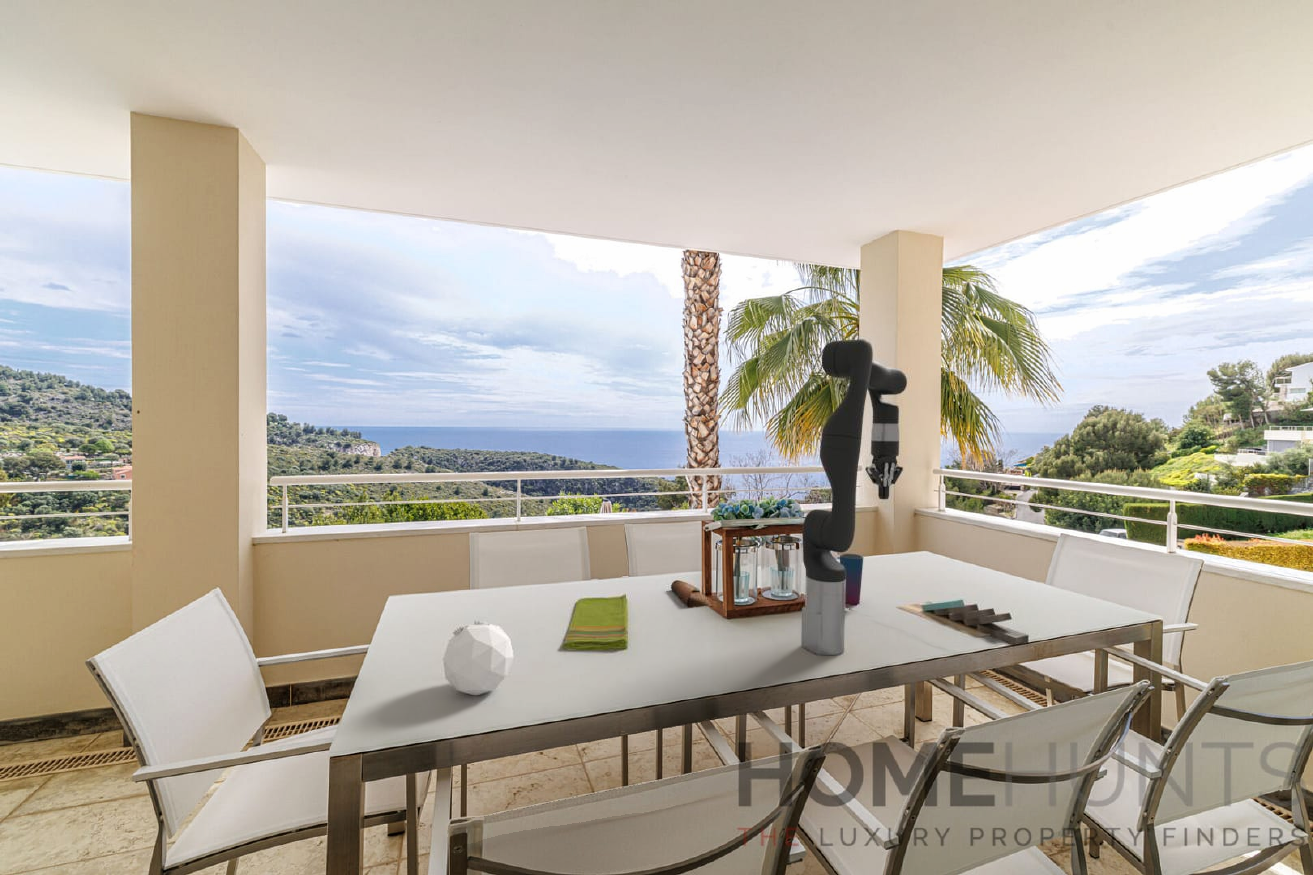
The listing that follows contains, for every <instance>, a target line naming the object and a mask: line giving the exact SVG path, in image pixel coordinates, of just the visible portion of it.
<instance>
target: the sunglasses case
mask: <svg viewBox="0 0 1313 875" xmlns="http://www.w3.org/2000/svg"><path fill="white" fill-rule="evenodd" d="M670 588H671V591H672V592H674V593H675V594H676V595H677V596H678V598H680V599H681V601H682V602H683V603H684V604H685V605H686V606H687V608H700V607H701V608H702V607H709V606H712V603H711V602H710V601H709V600H707V599H708V598H707V597H706V596H705V595H704V594H703V593H702V592H701V590H700V589H699V588H698V587H696V586H694V585H692V584H690V583H688V582H685V581H682V580H679V579H677V580H674V581H673V582H672V583H671V585H670ZM710 603H711V604H710Z"/></svg>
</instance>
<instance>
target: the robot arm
mask: <svg viewBox="0 0 1313 875" xmlns="http://www.w3.org/2000/svg"><path fill="white" fill-rule="evenodd" d="M873 355H874V350H873V346H872V343H871V342H870V341H869V339H863V338H862V339H860V338H859V339H841V340H839V339H838V340H832V341H829V342H828V343H827V344H825V346H824V348H823V350H822V353H821V366H822V369H823V371H824V373H825V374H826V375H827V376H828V377H831V378H838V379H842V378H843V379H847V380H850V382H849V384H848V388H847V391H846V393H845V395H844V398H843V399H842V400H841V402H840V404H839V405H838V406H837V407H836V409H835V410H834V411H833V412H832V414H831V415H830V416H829V418H828V419H827V421H826V422H825V424H824V426H823V428H822V431H821V436H820V437H821V438H820V446H819V458H820V461H821V465H822V468H823V470H824V472H825V475H826V477H827V480H828V481H829V482H828V483H829V485H830V488H831V493H832V494H831V495H832V497H831V498H832V503H831V511H830V510H825V509H812V510H811V511H809V512H808V513H807V514H806V516H805V517H804V521H803V523H802V558H803V559H802V560H803V565H804V569H805V600H804V601H805V603H804V604H805V605H804V606H803V607H802V608H801V637H800V638H801V641H800V642H801V643H800V646H801V647H803V648H805V649H806V650H809V651H810V652H811V653H814V654H815V655H816V656H817V655H818V656H821V655H825V656H826V655H827V656H835V655H836V656H837V655H841V654H843V653H844V652H845V636H846V635H845V631H846V630H845V629H846V624H845V623H846V607H845V606H846V604H845V591H846V569H845V567H844V566H843V565H842V564H841V563H840V561H838V560H837V559H836V558H835V557H834V556H833V555H832V552H833V553H834V552H835V553H840V554H843V553H846V552H847V551H848V550H849V549H850V548H851V547H852V544H853V542H854V538H855V532H856V496H857V495H856V494H857V480H858V479H857V478H858V470H859V469H858V468H859V462H860V461H859V460H860V454H861V447H862V439H863V426H864V423H863V422H864V413H865V405H866V400H867V393H869V394H868V395H869V398H870V402H871V407H872V424H871V425H872V426H871V432H870V433H871V436H870V437H871V438H870V455H871V456H872V460H871V464H870V466H866V467H865V472H866V474H867V475H868V477H869V479H870V480H871V482H872V484H874V485H876V486H877V487H878V492H877V493H878V495H877V496H878V498H879V500H884V501H885V500H889V497H890V487H891V485H895V484H896V483H897V481H898V480H899V478H900V476H901V474H902V472H903V471H904V467H903V466H900V465H899V464H898V459H897V457H898V456H899V455H900V424H899V422H900V420H899V418H900V408H899V405H898V404H896V403H891V402H886V401H885V400H884V399H883V396H891V395H893V396H895V395H896V396H897V395H900V394H902V393H903V392H904V391H906V388H907V386H908V385H907V384H908V380H907V379H908V378H907V376H906V374H905V373H904V372H903V371H902V370H900V369H898V368H895V367H889V366H886V365H883V364H881V363H880V362H878V361H876V360H873V359H874V356H873Z"/></svg>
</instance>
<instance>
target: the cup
mask: <svg viewBox="0 0 1313 875" xmlns="http://www.w3.org/2000/svg"><path fill="white" fill-rule="evenodd" d="M839 563H841V564H842V565H843V566H844V567H845V569H846V591H845V608H850V607H849V606H858V605H860V601H861V592H862V591H861V589H862V580H863V567H864V555H861V554H856V553H846V552H843V553H840V554H839ZM846 605H849V606H846Z"/></svg>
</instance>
